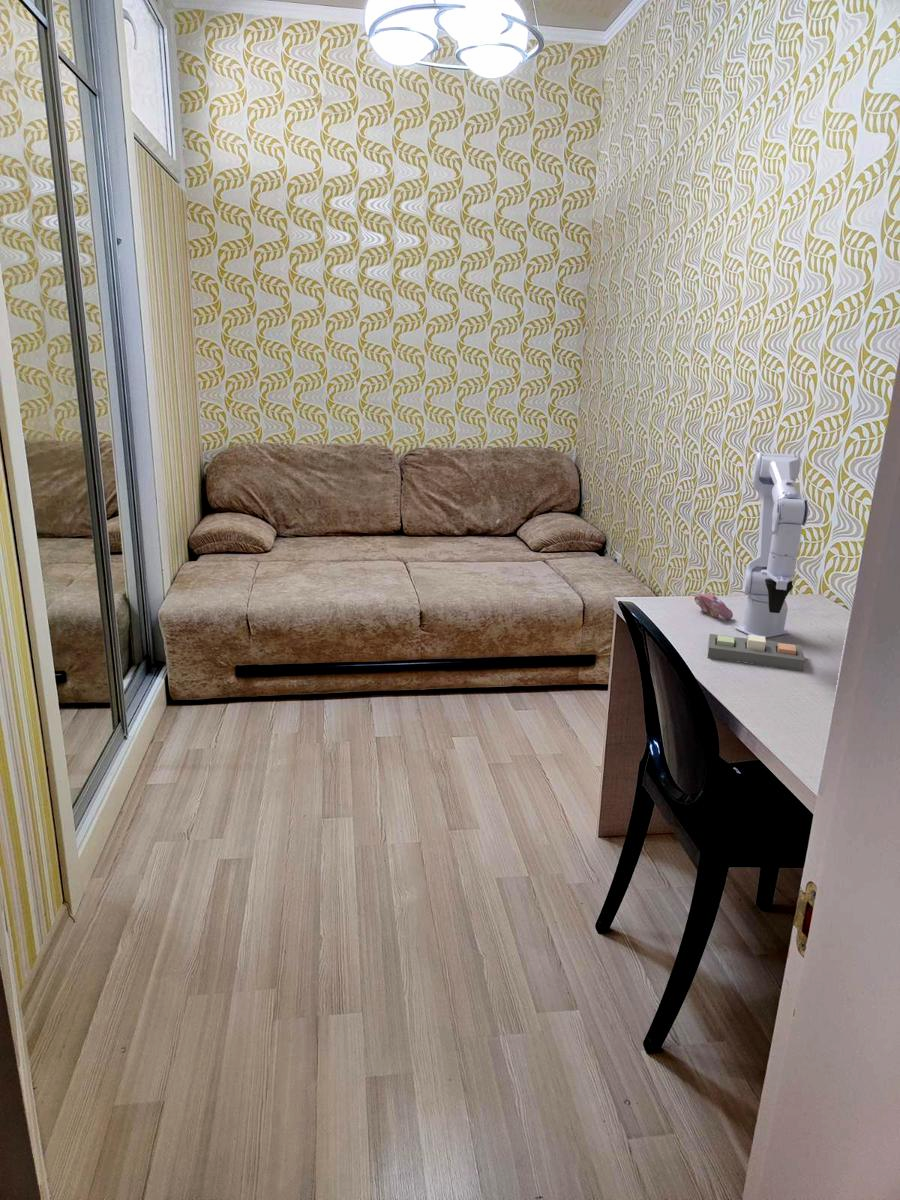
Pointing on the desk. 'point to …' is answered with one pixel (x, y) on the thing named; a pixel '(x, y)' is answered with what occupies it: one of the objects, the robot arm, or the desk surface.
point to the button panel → (756, 654)
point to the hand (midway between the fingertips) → (774, 612)
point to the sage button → (725, 641)
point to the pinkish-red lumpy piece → (713, 605)
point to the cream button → (756, 642)
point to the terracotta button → (786, 649)
